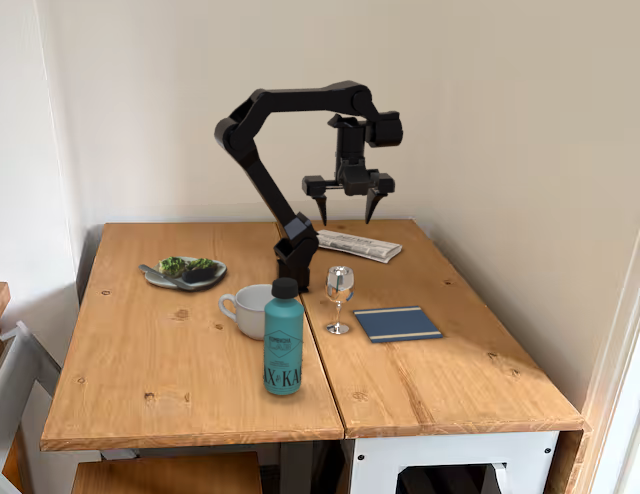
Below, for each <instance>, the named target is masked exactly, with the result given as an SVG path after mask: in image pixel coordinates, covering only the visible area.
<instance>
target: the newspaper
mask: <svg viewBox="0 0 640 494" xmlns="http://www.w3.org/2000/svg"><path fill="white" fill-rule="evenodd" d="M317 232H318V233H319V235H317V237H318V239H319V246H318V247H321V248H325V249H331V250H337V251H341V252H342V251H343V252H346V253H350V254H352V255H357V256H359V257H360V256H361V257H363V258H367V259H370V260H373V261H378V262H381V263H383V264H388V262H389V261H390V260H391V259H392V258H393V257H395V256H396V255H398V254H399V253H400V252H402V248H403V244H401V243H400V244H399V243H395V242H389V241H384V240H378V239H374V238H369V237H363V236H357V235H353V234H348V233H343V232H338V231H334V230H333V231H332V230H327V229H320V230H318V231H317Z"/></svg>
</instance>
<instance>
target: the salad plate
mask: <svg viewBox="0 0 640 494" xmlns="http://www.w3.org/2000/svg"><path fill="white" fill-rule="evenodd" d="M137 266H138V269H139V270H140V271H142V272H144V273H145V274H144V278H145V280H147V282H148V283H150V284H152V285H155V286H157V287H160V288H164V289H169V290H175V291H179V292H185V293H200V292H205V291H207V290H208V291H209V290H210V289H213V288H214V287H215V286H217V284H219V283H220V282H221V281H222V280H223V279H224V278H225V276H226V274H227V272H228V267H227V265H226V264H225V263H224V262H222V261H220V260H215V259H209V258H205V257H204V258H203V257H199V258H195V257H190V256H181V255H180V256H169V257H166V258H164V259H162V260H161V259H158V263H157V264H155V266H153V267H150V266H148V265H146V264H139V265H137Z"/></svg>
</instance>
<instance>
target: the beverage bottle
mask: <svg viewBox="0 0 640 494" xmlns="http://www.w3.org/2000/svg"><path fill="white" fill-rule="evenodd" d="M271 285H272V290H271V294H272V296H273V297H275V298H274V299H272V300H271V301H269V302H268V303H267V304H266V305H265V307H264V312H265V320H264V336H263V338H264V340H263V344H262V352H263V354H262V357H263V374H262V380H263V386H264V388H265V390H266V391H268V392H269V393H271V394H274V395H278V396H280V395H281V396H285V395H291V394H295V393H296V392H298V391H299V390H300V388H301V386H302V383H303V378H302V375H303V368H304V366H303V362H304V361H303V360H304V358H303V352H304V349H303V347H304V318H305V317H304V316H305V307H304V305H303V304H302V303H301V302H300V301H299V300H297V299H296V298H297V297H298V296H299V293H298V283H297V281H296V280H294V279H292V278H278V279H276V278H275V279H273V280H272V282H271Z"/></svg>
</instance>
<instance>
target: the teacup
mask: <svg viewBox="0 0 640 494" xmlns="http://www.w3.org/2000/svg"><path fill="white" fill-rule="evenodd" d="M271 290H272V284H270V283H269V284H268V283H259V284H257V283H256V284H251V285H247V286H244V287H242V288H241V289H239V290H237V292H236V293H235V295H234V294H231V293H223V294H222V295H221V296H220V297H219V298H218V303H217V305H218V309H219V311H220V312H221V313H222V314H223V315H224V316H226V317H227V318H229V319H231V320H232V321H233V323H235V324H237V327H238V329H239V331H241V332H242V333H243V334H244V335H246V336H247V337H249V338H250V339H253V340H256V341H264V338H263V336H264V320H265V312H264V307H265V305H266V304H267V303H268V302H269V301H271V300H272V299H274V298H275V297H273V296H272V294H271ZM227 300H228V301H230V302H231V303H232V305H233V307H234V309H235V313H234V312H232V311H231V310H229V309H227V307H226V306H225V304H224V302H225V301H227Z"/></svg>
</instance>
